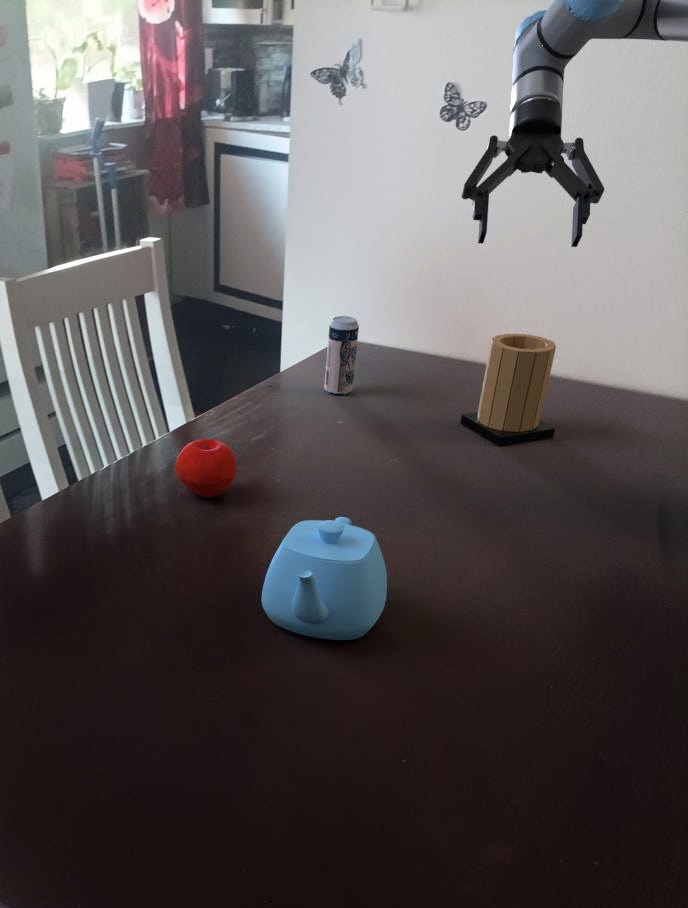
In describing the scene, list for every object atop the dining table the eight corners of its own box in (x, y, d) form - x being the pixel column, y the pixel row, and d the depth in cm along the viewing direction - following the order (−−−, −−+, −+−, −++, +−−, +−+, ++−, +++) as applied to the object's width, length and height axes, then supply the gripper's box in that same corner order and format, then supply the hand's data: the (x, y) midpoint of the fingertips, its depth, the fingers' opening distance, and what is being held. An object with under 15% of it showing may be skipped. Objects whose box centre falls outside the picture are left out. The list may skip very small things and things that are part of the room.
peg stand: (553, 437, 138) (568, 372, 132) (498, 446, 134) (512, 380, 129) (512, 415, 145) (525, 353, 139) (460, 423, 142) (470, 360, 136)
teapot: (237, 559, 84) (292, 483, 98) (235, 653, 90) (287, 569, 104) (371, 585, 80) (408, 502, 94) (359, 681, 86) (395, 590, 100)
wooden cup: (550, 427, 137) (568, 347, 130) (501, 435, 134) (517, 354, 127) (513, 407, 144) (529, 331, 137) (465, 414, 141) (479, 337, 134)
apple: (168, 502, 118) (167, 449, 114) (185, 478, 124) (185, 427, 120) (227, 510, 116) (228, 456, 112) (242, 485, 122) (243, 433, 118)
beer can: (345, 397, 151) (352, 324, 145) (319, 392, 153) (325, 320, 146) (356, 389, 155) (363, 318, 148) (330, 384, 157) (337, 314, 150)
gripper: (612, 134, 140) (608, 258, 136) (448, 130, 142) (439, 251, 139) (630, 96, 132) (625, 226, 128) (456, 93, 135) (447, 220, 131)
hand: (529, 239), depth 134 cm, fingers open, 13 cm apart
